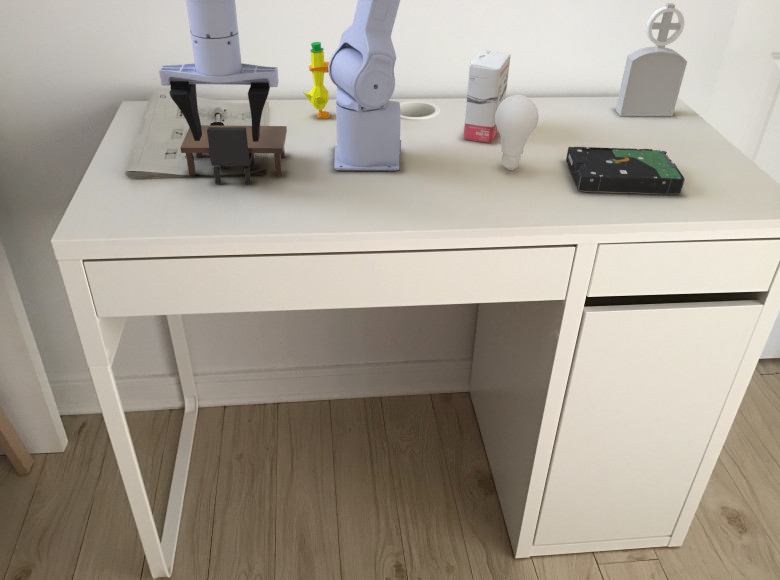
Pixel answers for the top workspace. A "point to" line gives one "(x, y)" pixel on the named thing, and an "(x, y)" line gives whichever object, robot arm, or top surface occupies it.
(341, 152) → the robot arm
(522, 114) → the lightbulb
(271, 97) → the top surface
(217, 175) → the chair
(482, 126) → the ink box
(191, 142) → the brown toy table
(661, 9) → the gravestone
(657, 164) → the disk drive
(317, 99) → the toy figure
